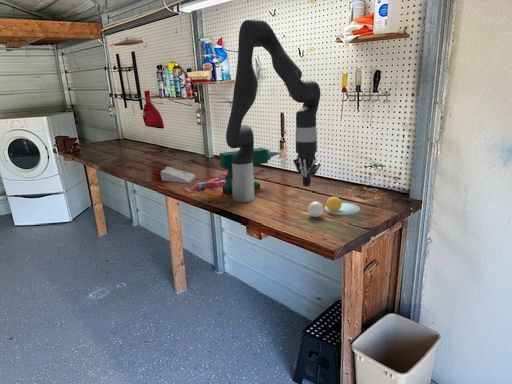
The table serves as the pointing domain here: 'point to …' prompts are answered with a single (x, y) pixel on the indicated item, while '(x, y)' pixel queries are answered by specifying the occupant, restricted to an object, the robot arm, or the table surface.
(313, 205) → the cue ball
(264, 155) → the power tool
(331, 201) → the object ball
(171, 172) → the ramp
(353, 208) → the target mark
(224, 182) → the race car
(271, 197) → the table surface
